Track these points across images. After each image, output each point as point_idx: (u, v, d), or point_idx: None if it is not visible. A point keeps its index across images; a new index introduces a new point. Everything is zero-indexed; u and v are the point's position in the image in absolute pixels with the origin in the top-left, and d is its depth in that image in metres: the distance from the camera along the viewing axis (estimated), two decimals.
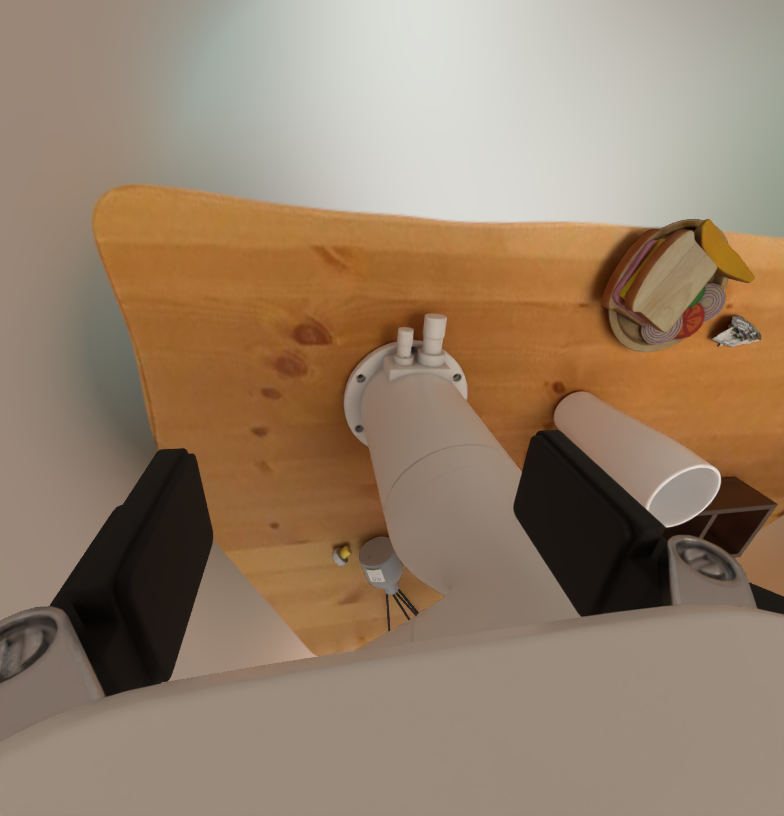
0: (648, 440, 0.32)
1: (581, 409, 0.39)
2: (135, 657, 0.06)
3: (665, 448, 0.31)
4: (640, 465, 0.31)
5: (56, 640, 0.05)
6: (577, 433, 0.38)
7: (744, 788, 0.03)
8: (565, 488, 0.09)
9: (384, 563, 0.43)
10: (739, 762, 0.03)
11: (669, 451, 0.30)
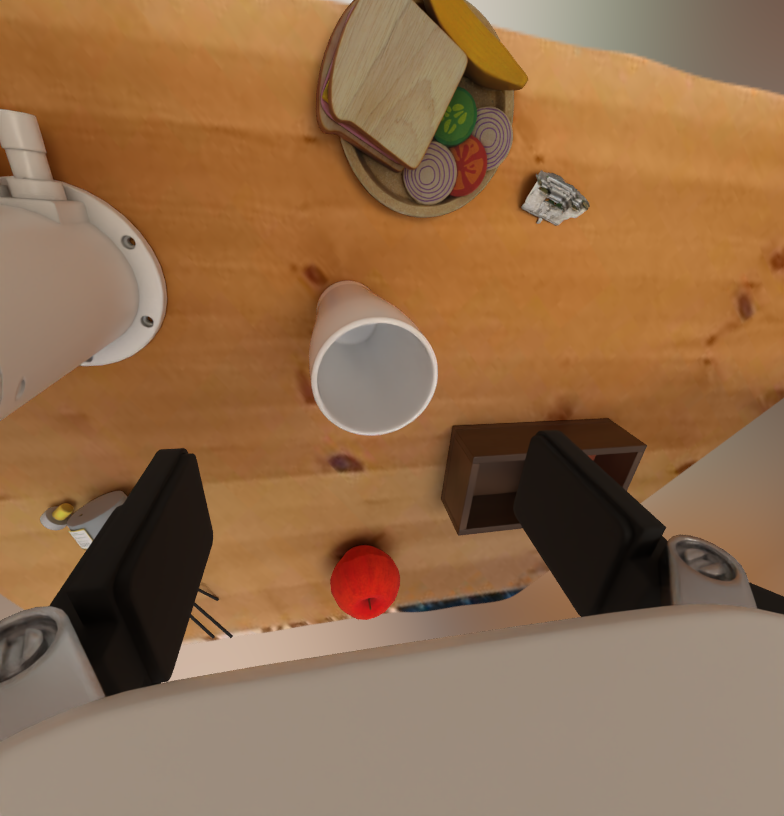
0: (345, 302, 0.21)
1: (326, 295, 0.28)
2: (135, 657, 0.06)
3: (354, 306, 0.20)
4: (317, 334, 0.20)
5: (56, 640, 0.05)
6: None
7: (743, 788, 0.03)
8: (565, 488, 0.09)
9: (90, 521, 0.32)
10: (739, 762, 0.03)
11: (354, 308, 0.19)
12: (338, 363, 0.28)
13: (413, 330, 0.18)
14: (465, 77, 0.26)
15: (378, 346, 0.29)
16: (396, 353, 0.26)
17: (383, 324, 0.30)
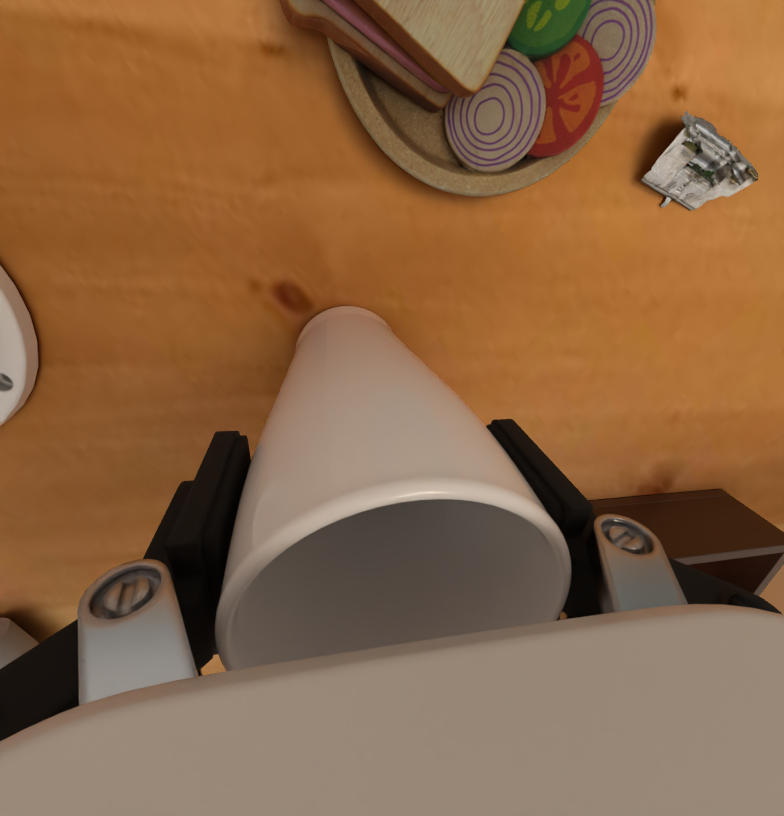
0: (327, 387, 0.09)
1: (307, 336, 0.16)
2: (213, 610, 0.07)
3: (344, 411, 0.07)
4: (249, 483, 0.08)
5: (161, 585, 0.06)
6: None
7: (743, 787, 0.03)
8: None
9: None
10: (738, 762, 0.03)
11: (345, 422, 0.07)
12: None
13: (522, 508, 0.06)
14: None
15: None
16: None
17: None
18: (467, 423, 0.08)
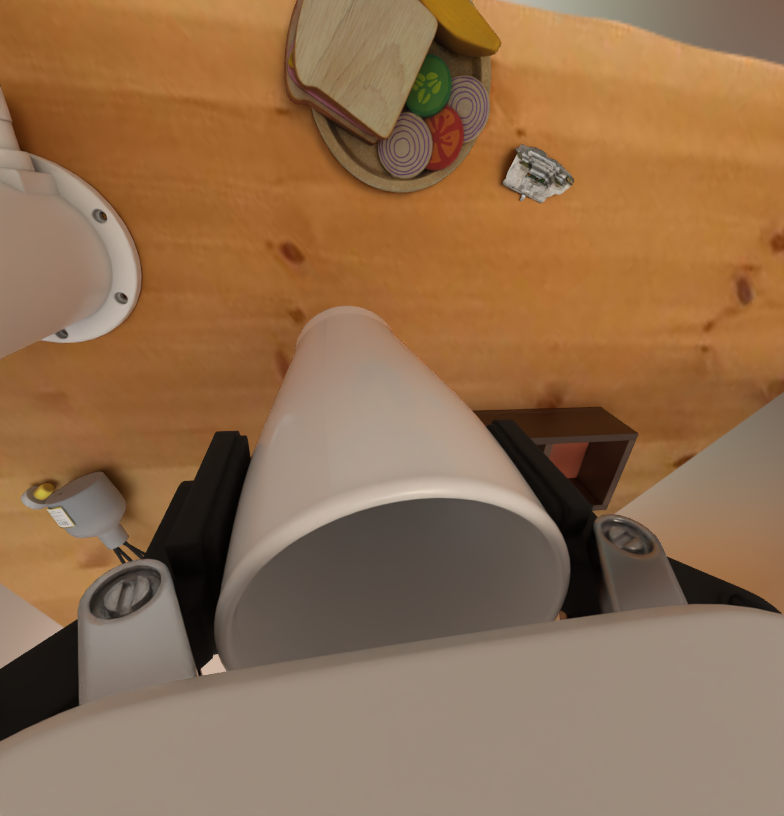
0: (326, 387, 0.09)
1: (306, 336, 0.16)
2: (213, 610, 0.07)
3: (343, 411, 0.07)
4: (249, 482, 0.08)
5: (162, 585, 0.06)
6: None
7: (744, 788, 0.03)
8: None
9: (68, 500, 0.32)
10: (739, 762, 0.03)
11: (344, 422, 0.07)
12: None
13: (521, 507, 0.06)
14: (439, 45, 0.25)
15: None
16: None
17: None
18: (466, 422, 0.08)
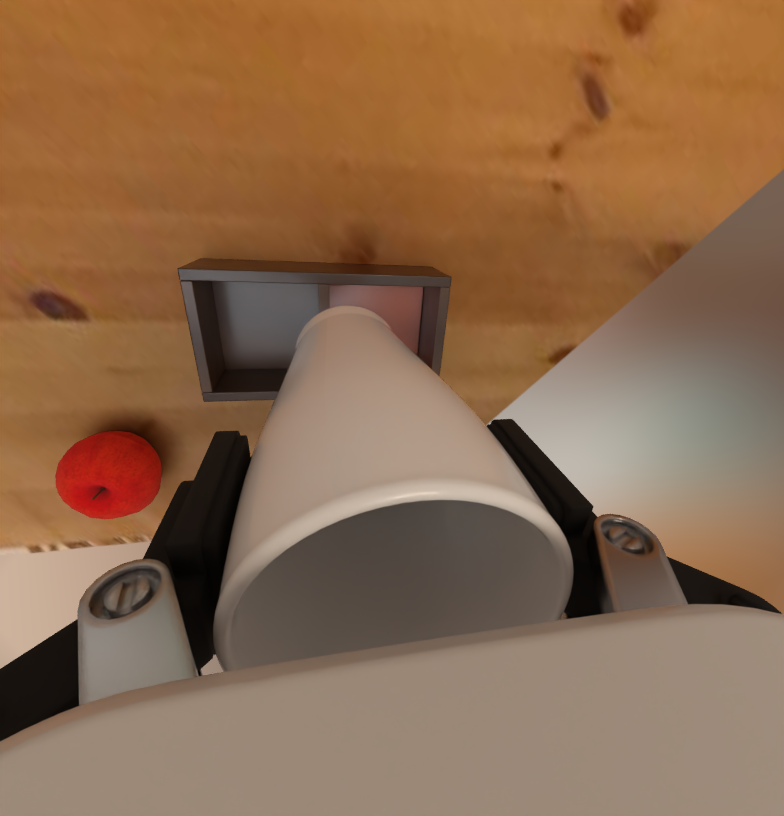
0: (327, 387, 0.09)
1: (306, 336, 0.16)
2: (213, 610, 0.07)
3: (344, 411, 0.07)
4: (248, 484, 0.07)
5: (161, 585, 0.06)
6: None
7: (743, 787, 0.03)
8: None
9: None
10: (738, 761, 0.03)
11: (345, 422, 0.07)
12: None
13: (524, 509, 0.06)
14: None
15: None
16: None
17: None
18: (468, 423, 0.08)
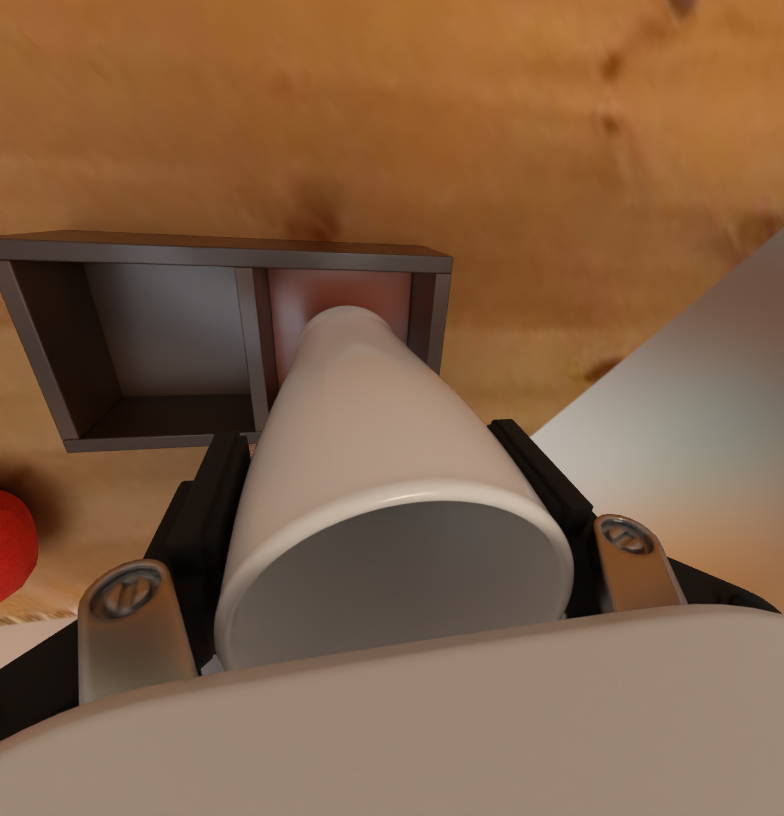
0: (327, 388, 0.09)
1: (306, 336, 0.16)
2: (213, 610, 0.07)
3: (344, 412, 0.07)
4: (249, 484, 0.07)
5: (161, 585, 0.06)
6: None
7: (744, 788, 0.03)
8: None
9: None
10: (739, 762, 0.03)
11: (345, 423, 0.07)
12: None
13: (524, 510, 0.06)
14: None
15: None
16: None
17: None
18: (468, 423, 0.08)
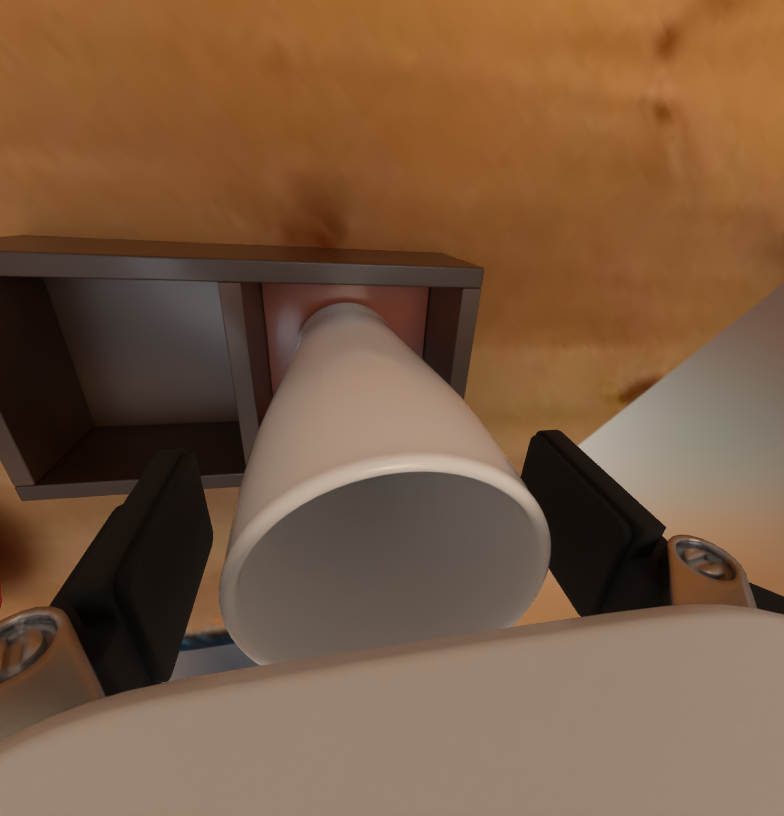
0: (324, 375, 0.09)
1: (307, 331, 0.16)
2: (135, 657, 0.06)
3: (339, 396, 0.08)
4: (251, 463, 0.08)
5: (56, 640, 0.05)
6: None
7: (743, 788, 0.03)
8: (565, 488, 0.09)
9: None
10: (738, 762, 0.03)
11: (340, 405, 0.08)
12: None
13: (502, 482, 0.06)
14: None
15: None
16: None
17: None
18: (455, 408, 0.08)
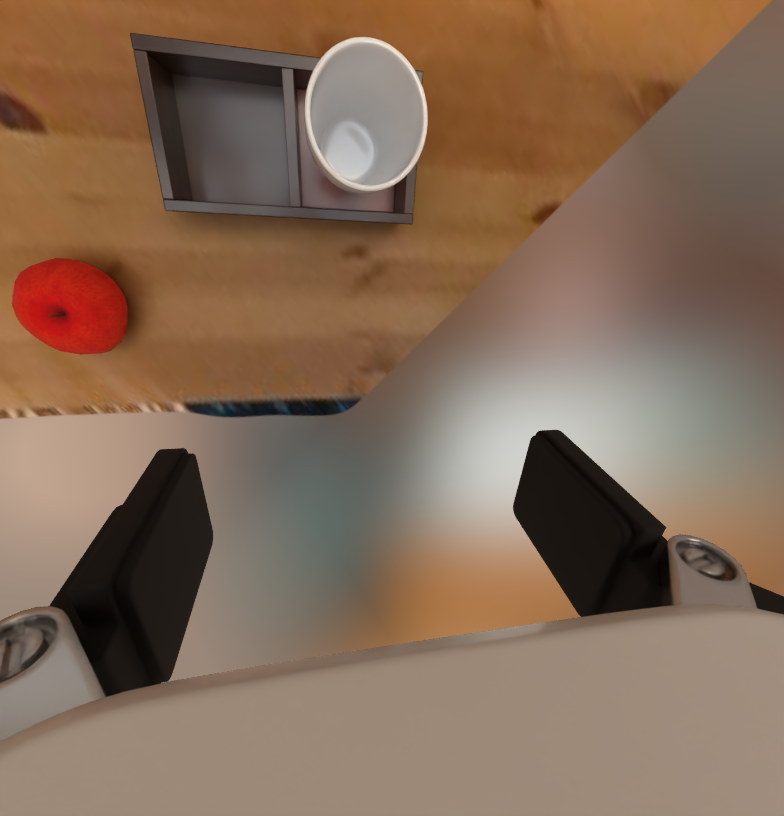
0: None
1: None
2: (135, 658, 0.06)
3: None
4: None
5: (56, 640, 0.05)
6: None
7: (744, 788, 0.03)
8: (565, 488, 0.09)
9: None
10: (739, 762, 0.03)
11: None
12: None
13: (402, 57, 0.19)
14: None
15: (377, 173, 0.30)
16: (392, 160, 0.27)
17: (381, 153, 0.30)
18: None
